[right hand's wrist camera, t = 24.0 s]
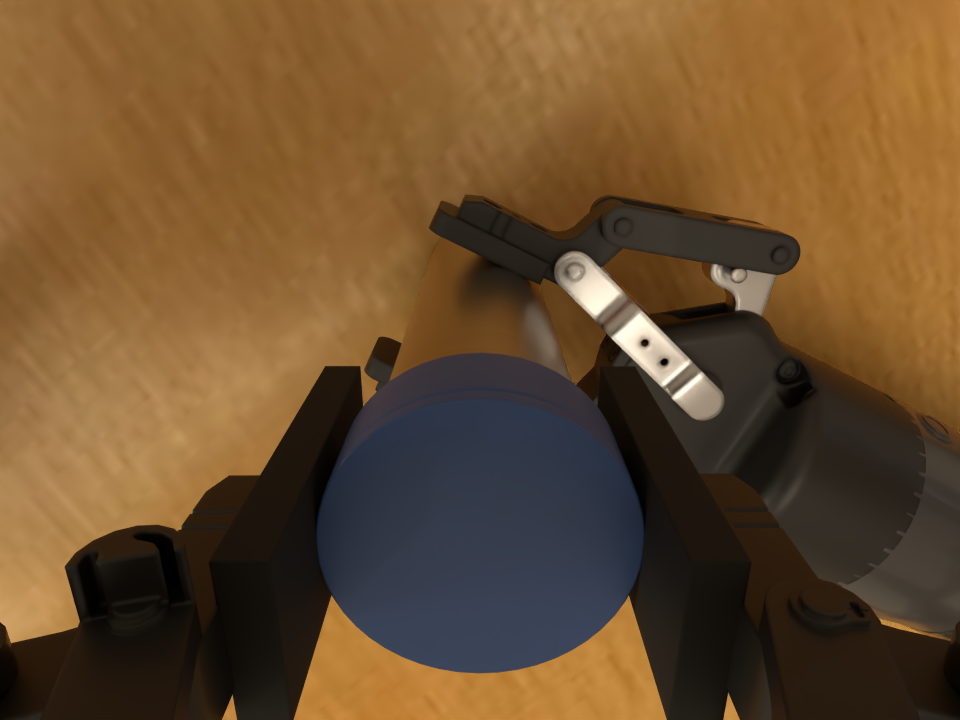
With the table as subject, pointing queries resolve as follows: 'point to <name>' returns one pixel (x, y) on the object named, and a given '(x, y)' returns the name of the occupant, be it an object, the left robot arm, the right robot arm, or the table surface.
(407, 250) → the table surface
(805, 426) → the left robot arm
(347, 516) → the lid
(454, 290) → the bronze metal cylinder
